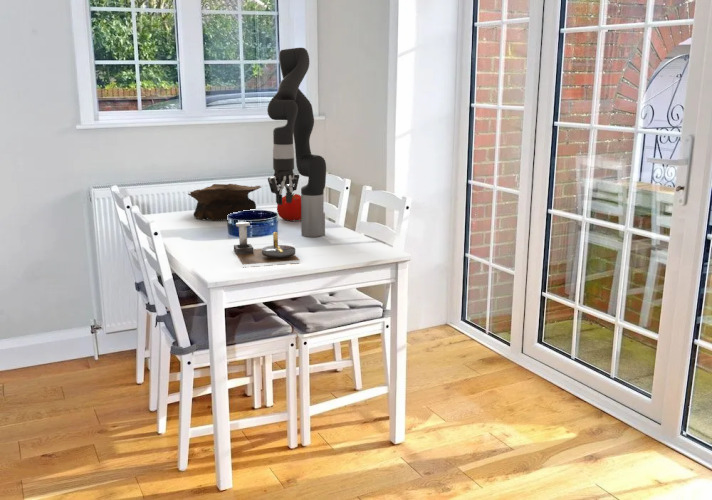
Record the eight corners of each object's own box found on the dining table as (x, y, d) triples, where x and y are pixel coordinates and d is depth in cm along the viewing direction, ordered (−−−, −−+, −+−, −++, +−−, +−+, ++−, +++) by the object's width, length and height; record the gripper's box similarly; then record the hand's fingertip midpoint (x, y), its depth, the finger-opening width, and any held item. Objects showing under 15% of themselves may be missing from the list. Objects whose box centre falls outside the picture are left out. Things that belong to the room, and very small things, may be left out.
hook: (249, 250, 263) (248, 221, 260) (250, 252, 260) (250, 223, 257) (236, 251, 261) (235, 222, 259) (237, 253, 259) (236, 224, 256)
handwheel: (291, 248, 262) (290, 231, 260) (299, 256, 251) (298, 238, 249) (259, 250, 258) (258, 233, 257) (265, 258, 247) (265, 240, 246)
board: (287, 249, 270) (287, 241, 269) (299, 263, 251) (299, 254, 250) (233, 253, 263) (233, 244, 262) (242, 267, 245) (242, 258, 244)
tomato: (280, 216, 330) (280, 191, 327) (310, 217, 328) (310, 192, 325) (273, 222, 317) (273, 196, 314) (304, 223, 315) (304, 197, 312)
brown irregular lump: (178, 224, 319) (174, 191, 316) (205, 213, 351) (201, 183, 349) (251, 221, 313) (248, 187, 311) (272, 210, 346) (269, 179, 343)
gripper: (290, 154, 262) (291, 199, 266) (261, 157, 251) (262, 204, 256) (305, 155, 257) (305, 202, 261) (275, 159, 246) (276, 207, 251)
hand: (284, 203), depth 258 cm, fingers open, 4 cm apart
